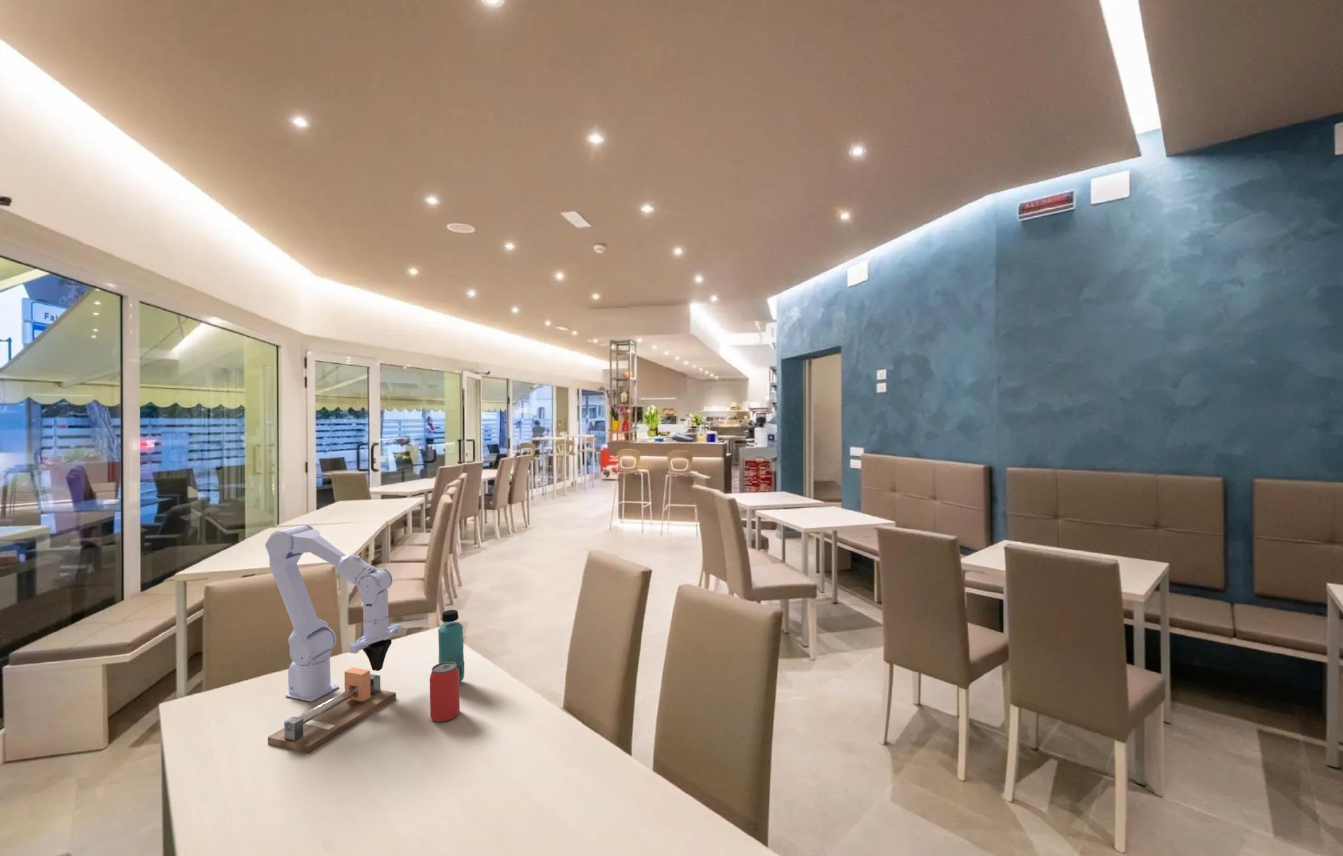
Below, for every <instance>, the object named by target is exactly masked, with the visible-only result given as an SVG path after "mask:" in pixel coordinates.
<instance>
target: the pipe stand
mask: <svg viewBox="0 0 1343 856" xmlns="http://www.w3.org/2000/svg"><path fill="white" fill-rule="evenodd" d="M381 690H382V688H381V675H378V674H373V673H370V694H373V695H375V694H376V693H378V692H380V691H381ZM356 694H358V686H353V687H352V688H350V689H348V690H346V691H345V690H344V691H343V692H341V693H339V694H337V695H336V696H334V697H331V698H330V699H328V700H326V701H324V702H322V703H321V704H319V705H317V706H315V707H313V708H311V709H310V710H308V711H306V712H304V713H302V714H301V715H299V716H297V717H296V716H292V717H290V718H288V719H286V720H284V723H283V724H284V725H283V728H284V733H285V739H286V740H290V741H294V742H295V741H297V740H298V739H300V738H302V737H303V724H305V723H306V722H308V721H310V720H312V719H314V718H315V717H317V716H319V715H321V714H322V713H324V712H326V711H328V710H329V709H331V708H333V707H335V706H336V705H338V704H340V703H342V702H343V701H345V700H347V699H349V698H351V697H352V696H354V695H356Z"/></svg>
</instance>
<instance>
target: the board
mask: <svg viewBox="0 0 1343 856" xmlns="http://www.w3.org/2000/svg"><path fill="white" fill-rule="evenodd" d="M370 695H371V697H369V698H368V699H366V700H364V701H363V702H362V701H357V700H352V699H347V700H345V701H343V702H342V703H340V704H338V705H336V706H335V707H333V708H331V709H329V710H328V711H326V712H324V713H322V714H321V715H319V716H317V717H315V718H314V719H312V720H310V721H308V722H306V723H305V724H303V737H302V738H300V739H298V740H297V741H295V742H294V741H290V740H286V739H285V733H284V727H283V728H281V729H279V730H278V731H275V732H274V733H272V734H270V735H269V736H267V744H268V745H272V746H277V747H280V748H284V749H288V750H293V751H297V752H300V753H305V754H310V753H311V752H313V751H314V750H316V749H317V748H320V747H321V746H322V745H324V744H325V743H328V742H329V741H330V740H332V739H334V738H335V737H337V736H339V735H340V734H341V733H343V732H345V731H346V730H348V729H350V728H351V727H353V726H354V725H356V724H357V723H359V722H360V721H361V722H362V720H364V719H365V718H367V717H368V716H370V715H372V714H374V713H375V712H376V711H378V710H380V709H381V708H383V707H384V706H386V705H387V704H390V703H391V702H393V701H394V700H396V699H397V693H396V692H394V691H389V690H384V689H381V691H380V692H378V693H376V694H375V695H373V694H370Z"/></svg>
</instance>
